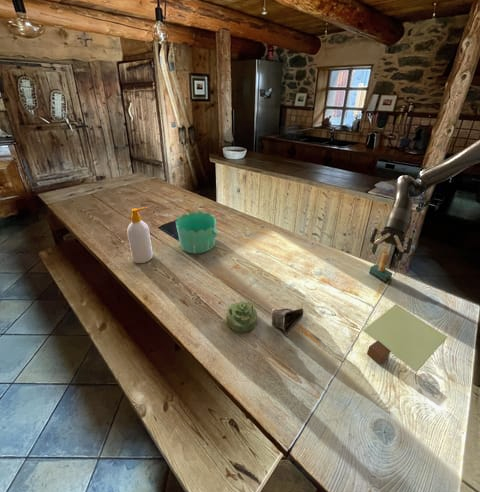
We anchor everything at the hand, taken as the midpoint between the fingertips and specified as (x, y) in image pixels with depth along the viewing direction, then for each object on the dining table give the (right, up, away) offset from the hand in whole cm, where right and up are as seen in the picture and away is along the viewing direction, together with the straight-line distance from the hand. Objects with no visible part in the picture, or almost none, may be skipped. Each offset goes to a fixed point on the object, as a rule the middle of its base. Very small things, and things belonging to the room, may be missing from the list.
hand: (385, 257), depth 105 cm
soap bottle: (-100, -3, +13) cm, 101 cm away
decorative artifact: (-57, -17, -17) cm, 62 cm away
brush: (0, -8, +3) cm, 9 cm away
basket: (-78, +2, +23) cm, 81 cm away
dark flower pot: (-43, -18, -17) cm, 49 cm away
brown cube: (-18, -23, -29) cm, 42 cm away
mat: (-6, -20, -22) cm, 30 cm away
